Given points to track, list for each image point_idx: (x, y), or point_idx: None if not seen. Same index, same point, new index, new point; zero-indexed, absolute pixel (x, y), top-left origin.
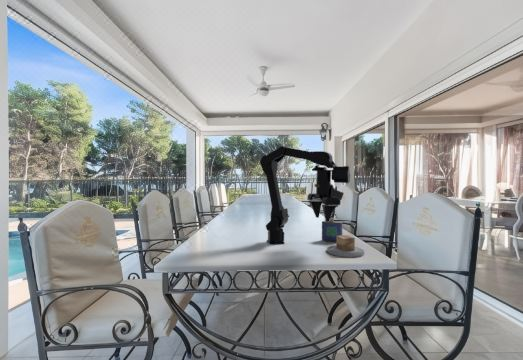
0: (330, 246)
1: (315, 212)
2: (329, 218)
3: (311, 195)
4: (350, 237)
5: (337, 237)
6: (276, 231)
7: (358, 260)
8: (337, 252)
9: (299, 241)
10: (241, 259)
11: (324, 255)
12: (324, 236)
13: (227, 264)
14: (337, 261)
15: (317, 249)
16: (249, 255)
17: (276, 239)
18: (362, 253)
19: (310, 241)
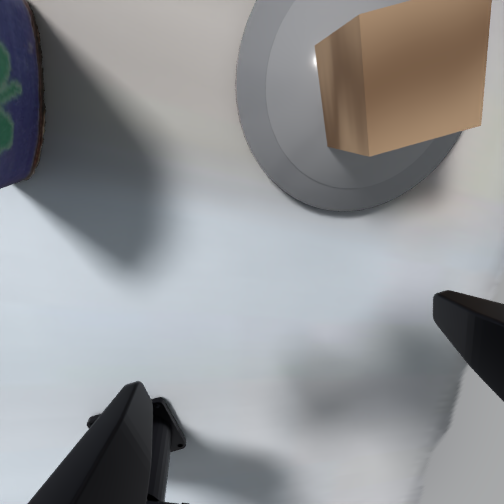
0: (273, 175)
1: (143, 499)
2: (498, 309)
3: None
4: (466, 25)
5: (381, 150)
6: (163, 495)
7: None
8: (411, 165)
9: (90, 329)
10: (370, 482)
11: (389, 234)
12: (13, 171)
13: (405, 497)
14: (493, 191)
15: (275, 252)
16: (333, 473)
17: (169, 446)
18: None
19: (75, 268)
